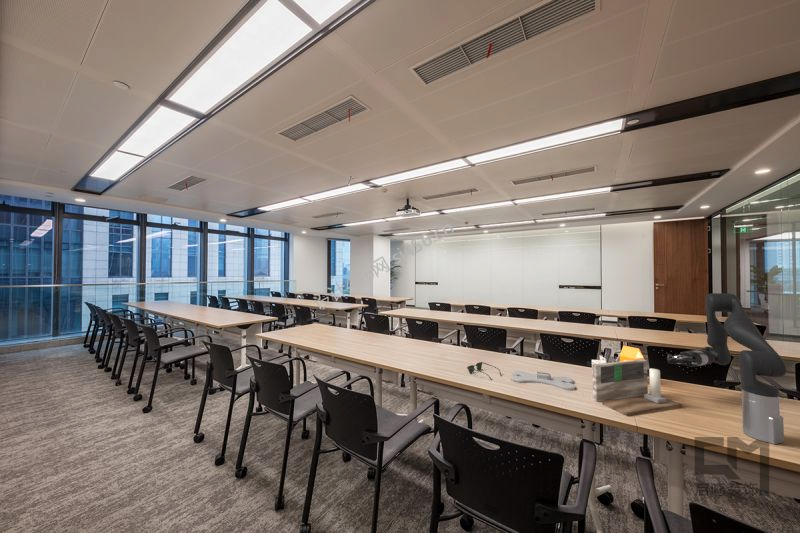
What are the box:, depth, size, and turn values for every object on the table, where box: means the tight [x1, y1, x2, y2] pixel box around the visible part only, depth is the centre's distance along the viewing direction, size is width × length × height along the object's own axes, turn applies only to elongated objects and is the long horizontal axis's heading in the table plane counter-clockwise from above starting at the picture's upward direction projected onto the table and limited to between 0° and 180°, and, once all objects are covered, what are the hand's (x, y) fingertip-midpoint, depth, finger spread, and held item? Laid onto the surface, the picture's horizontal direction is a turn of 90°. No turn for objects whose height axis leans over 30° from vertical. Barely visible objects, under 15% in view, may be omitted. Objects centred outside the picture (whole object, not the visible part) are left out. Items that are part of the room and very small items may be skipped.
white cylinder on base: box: [638, 367, 668, 403], centre depth 144 cm, size 11×6×15 cm, turn 14°
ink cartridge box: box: [591, 355, 607, 380], centre depth 171 cm, size 9×5×15 cm, turn 168°
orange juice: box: [619, 345, 645, 362], centre depth 172 cm, size 8×9×20 cm
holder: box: [510, 369, 577, 391], centre depth 172 cm, size 19×34×5 cm, turn 64°
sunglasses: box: [466, 361, 502, 381], centre depth 183 cm, size 16×17×5 cm
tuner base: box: [591, 358, 683, 417], centre depth 142 cm, size 17×34×18 cm, turn 104°
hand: (669, 361), depth 145 cm, fingers closed
